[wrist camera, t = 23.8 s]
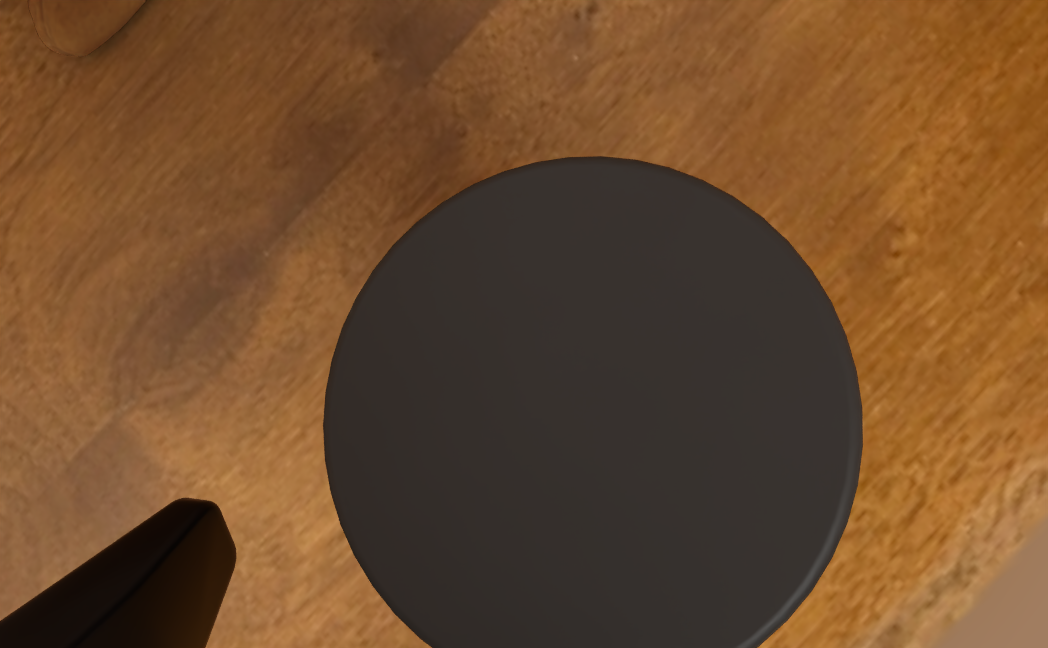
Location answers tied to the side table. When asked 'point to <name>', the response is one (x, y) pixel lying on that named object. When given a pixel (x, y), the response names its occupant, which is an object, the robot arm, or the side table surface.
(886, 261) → the side table surface
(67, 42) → the stuffed squirrel
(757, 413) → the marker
